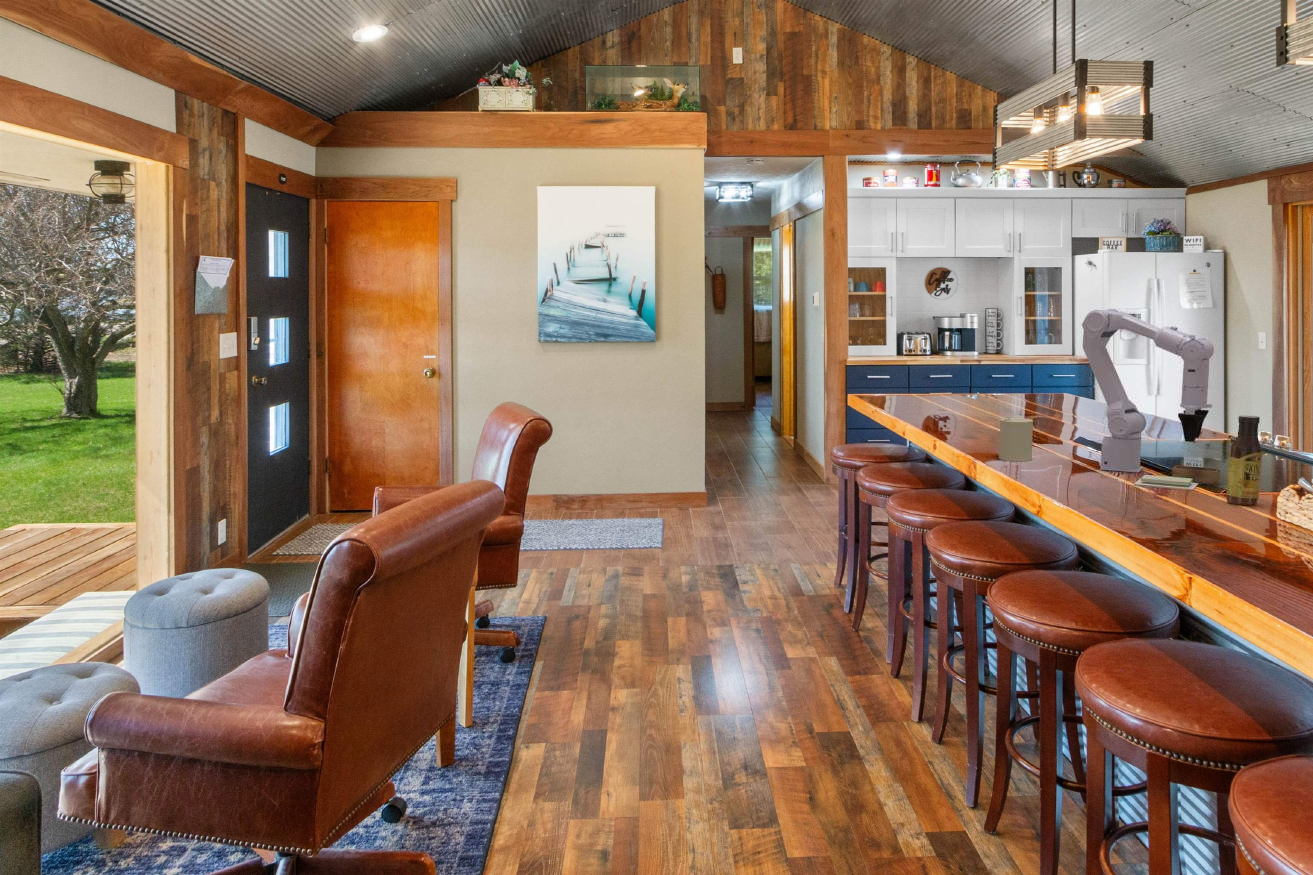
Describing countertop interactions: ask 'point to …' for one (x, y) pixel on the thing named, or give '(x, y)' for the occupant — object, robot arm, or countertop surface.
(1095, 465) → the countertop surface
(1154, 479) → the lid
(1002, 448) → the can
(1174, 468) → the walnut box
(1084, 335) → the robot arm
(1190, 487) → the felt mat
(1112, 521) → the countertop surface
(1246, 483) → the sauce bottle
